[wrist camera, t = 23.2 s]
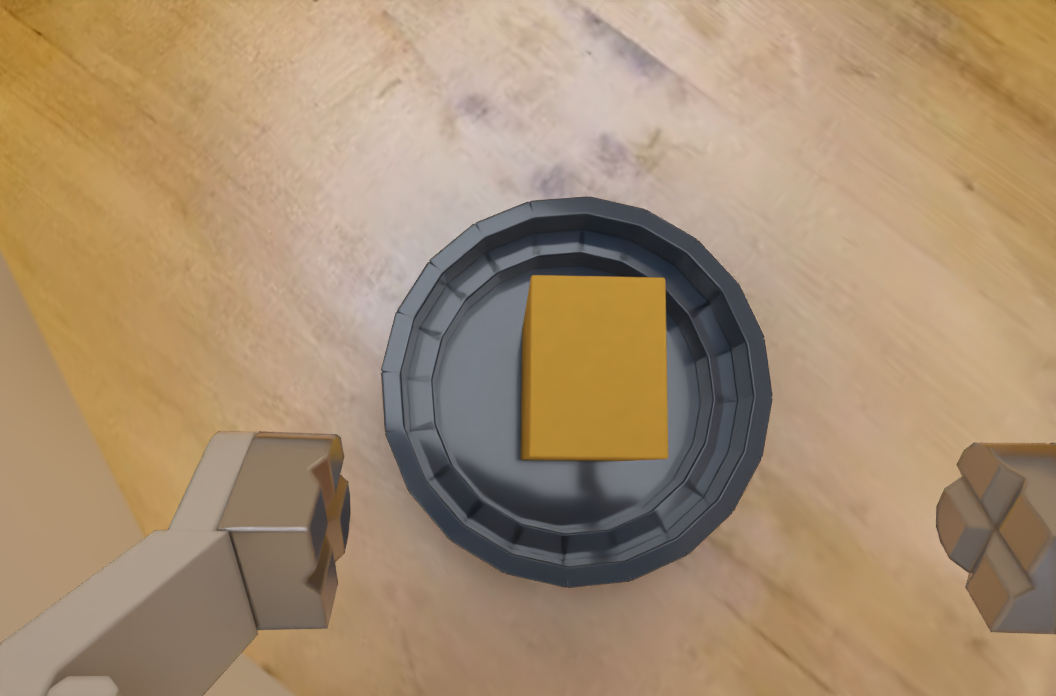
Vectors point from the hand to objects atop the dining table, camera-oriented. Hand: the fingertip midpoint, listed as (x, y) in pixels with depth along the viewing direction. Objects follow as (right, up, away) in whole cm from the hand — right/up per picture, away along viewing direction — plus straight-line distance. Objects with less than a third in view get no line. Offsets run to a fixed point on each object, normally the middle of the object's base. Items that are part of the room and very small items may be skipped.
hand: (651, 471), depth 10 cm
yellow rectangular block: (0, 0, +25) cm, 25 cm away
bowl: (0, -1, +26) cm, 26 cm away
